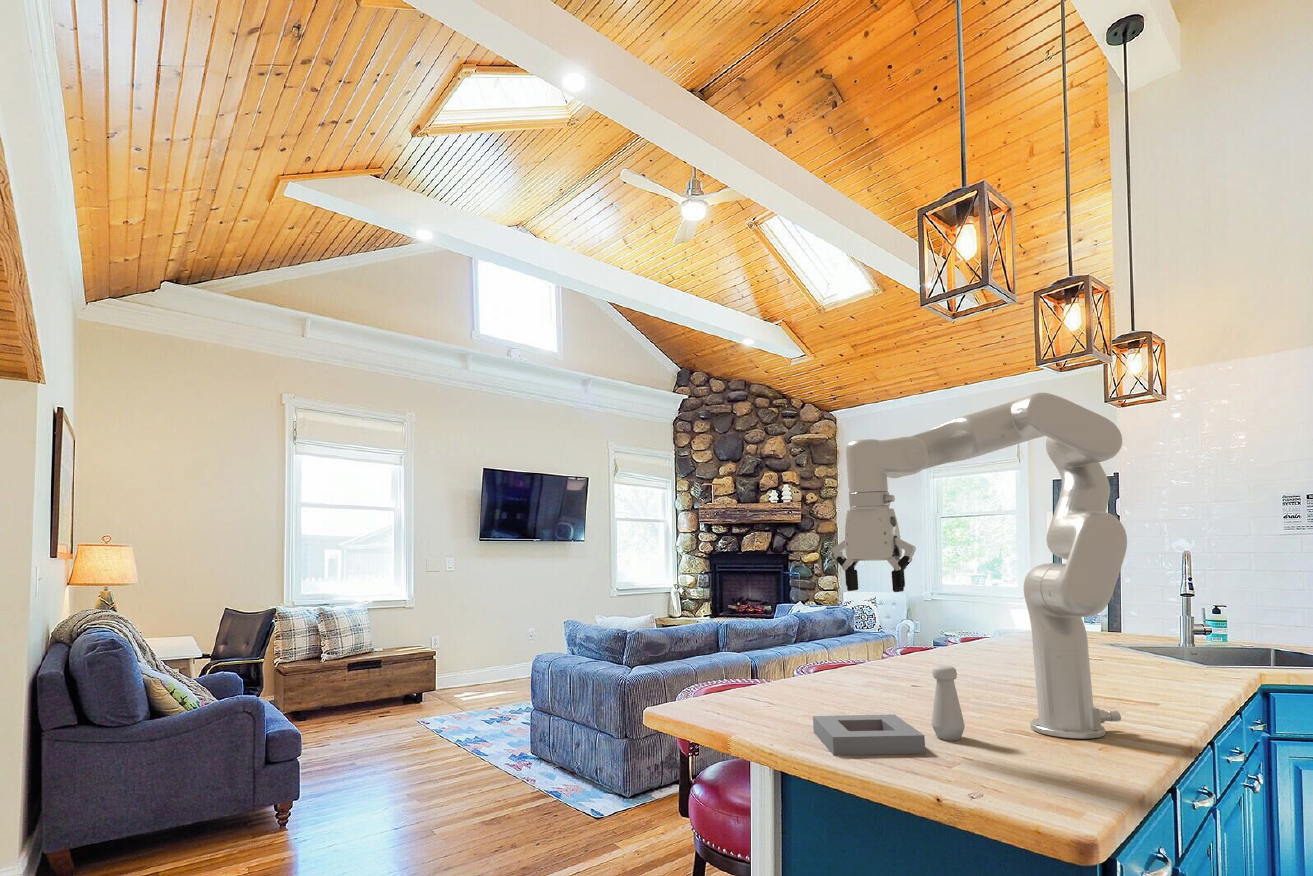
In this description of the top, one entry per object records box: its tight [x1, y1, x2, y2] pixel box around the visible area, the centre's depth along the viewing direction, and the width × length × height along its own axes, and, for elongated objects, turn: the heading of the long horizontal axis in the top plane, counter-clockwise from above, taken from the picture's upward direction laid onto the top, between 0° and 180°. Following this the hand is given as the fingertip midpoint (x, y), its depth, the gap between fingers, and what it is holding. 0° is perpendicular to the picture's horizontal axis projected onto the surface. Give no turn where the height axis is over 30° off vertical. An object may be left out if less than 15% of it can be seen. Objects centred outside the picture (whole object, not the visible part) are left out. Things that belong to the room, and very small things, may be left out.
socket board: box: [812, 714, 926, 756], centre depth 139 cm, size 16×16×3 cm
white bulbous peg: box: [930, 664, 966, 742], centre depth 142 cm, size 6×6×13 cm
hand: (875, 591), depth 146 cm, fingers open, 9 cm apart
